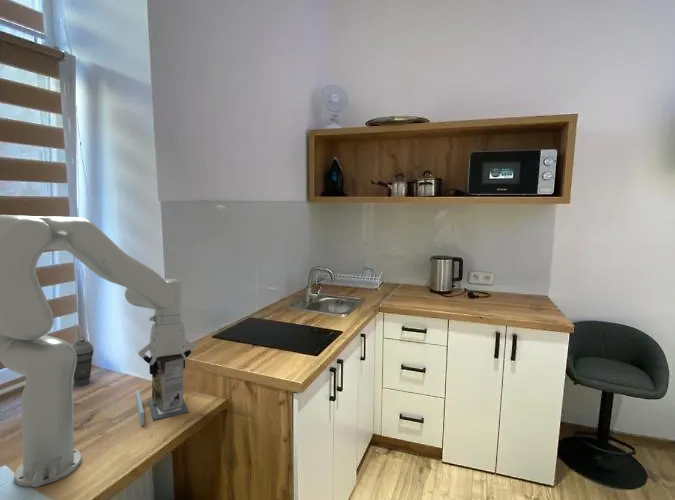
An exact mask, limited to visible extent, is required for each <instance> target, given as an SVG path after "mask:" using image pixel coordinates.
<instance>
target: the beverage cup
mask: <svg viewBox="0 0 675 500" xmlns="http://www.w3.org/2000/svg"><path fill="white" fill-rule="evenodd" d="M76 331H77V338H78V339H77V341H76V342H74V343H73V344H71V345H72V346H73V348H74V349H75V351H76V355H77V362H76V368H75V372H74V378H73V386H75V387H83V386H86V384H87V385H88V383H89V384H90V380H91V373H92V364H93V363H92V360H93V355H94V351H95V350H94V346H93V344H92V343H91V342H90V341H89V340H84V339H83V340H82V339H81V335H80V328H76Z"/></svg>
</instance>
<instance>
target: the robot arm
mask: <svg viewBox="0 0 675 500" xmlns="http://www.w3.org/2000/svg"><path fill="white" fill-rule="evenodd" d="M52 250H53V251H55V250H57V251H66V252H68V253H69V254H71V255H72V256H73V257H74V258H76V259H77V260H79V262H80V263H81V264H83V265H85V266H86V267H87V268H88V269H90V270H91V271H92V272H93V273H94V274H95V275H96V276H98V277H100V278H101V279H104V280H106V281H107V282H110V283H113V284H116V285H119V286H122V287H125V288H126V289H125V291H124V297H125V299H126V301H127V302H128V303H129V304H130V305H132V306H135V307H138V308H139V307H140V308H142V309H143V308H144V309H151V310H154V314H153V315H151V316H149V322H153V323H152V325H151V328H150V329H151V331H150V336H149V343H148V344H147V345H146V346H144V347H143V348H142V349H141V350H139V351H138V355H139V356H140V358H141V359H143V361H144V362H146V363H147V364H149V375H151V377H152V376H153V378H154V377H155V376H156V365H155V361H156V359H157V358H159V357H166V356H173V355H179V354H181V355H182V356H184V362H183V370H184V369H186V360H187V358H188V357H189V356H190V355H191V353H192V352H193V350H194V349H195V348H196V345H195V344H194V343H192V341H189V340H187V337H186V325H185V321H183V320H182V282H181V281H180V280H179V279H176V278H163V277H162V276H161V275H160V274H158V273H157V272H156V271H154V270H153V269H151V268H150V267H148V266H147V265H145V264H143V263H141V262H140V261H139V260H137V259H135V258H134V257H132V256H130V255H128V253H126V252H125V251H124V250H123V249H121V248H120V247H119V245H117V243H115V242H114V241H113V240H111V238H109V236H107V235H106V234H105V233H104V232H103V231H102V230H101V229H100V228H99V227H98V226H97V225H96V224H95V223H93V222H92V221H90V220H89V219H86V218H84V217H76V216H40V215H38V216H36V215H35V216H34V215H33V216H32V215H20V214H19V215H14V214H0V363H1V364H2V365H3V366H4V367H5V368H6V369H8V370H10V371H12V372H15V373H17V374H20V375H21V376H24V377H25V385H24V387H23V391H22V394H21V401H20V403H21V405H20V407H21V408H20V411H21V430H22V431H21V436H22V438H21V439H22V464H20V465H19V466H18V467H17V468H16V469H15V471H14V475H13V477H14V478H13V479H14V483H16V484H17V485H18V486H21V487H33V488H38V487H40V486H44V485H47V484H51V483H53V482H56V481H58V480H61V479H63V478H66V476H68V475H70V474H71V473H72V472H74V471H75V470H76V469H77V468H78V467H79V466H80V464H81V462H82V456H83V455H82V452H80V450H78V449H75V448H74V447H75V445H74V443H75V442H74V441H75V439H74V380H73V378H74V372H75V368H76V362H77V355H76V351H75V349H74V348H73V346H72V345H73V344H71V343H69V342H68V341H66V340H64V339H63V338H62V339H61V338H59V337H56V336H51V335H49V334H48V333H49V332H50V331H51V330H52V328H53V326H54V321H55V320H54V319H55V317H54V313H53V310H52V307H51V306H50V304H49V301H48V299H47V297H46V295H45V293H44V291H43V288H42V286H41V285H40V281H39V278H38V276H37V265H38V261H39V259H40V258H41V256H42V255H43V253H45V252H44V251H52ZM187 347H188V348H187ZM148 351H149V353H150V356H148V355H147V354H146V353H147V352H148Z"/></svg>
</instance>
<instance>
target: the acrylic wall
mask: <svg viewBox="0 0 675 500" xmlns="http://www.w3.org/2000/svg"><path fill="white" fill-rule="evenodd" d="M135 405H136V410H137V415H138V419H139V420H138V421H139V425H140V427H143V426H145V423H144V422H145V420H144V419H145V418H144V417H145V415H144V414H145V411H144V407H143V403H142V399H141V394H140V390H139V389H136V390H135Z"/></svg>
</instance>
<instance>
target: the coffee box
mask: <svg viewBox="0 0 675 500" xmlns="http://www.w3.org/2000/svg"><path fill="white" fill-rule="evenodd" d="M183 362H184V356H182V355H181V354H179V355H173V356H166V357H159V358H157V359H156V361H155V365H156V376H155V377H154V378H153V376H152V375H151V379H152V381H151V383H152V384H151V400H152V401H153V402H154V403H155V404H156V405H157V406H158V407H159V408H160V409H161V410H162V411H166V410H169V409H172V408H175V407H178V406H181V405H183V400H184V398H183V396H184V369H183Z"/></svg>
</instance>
